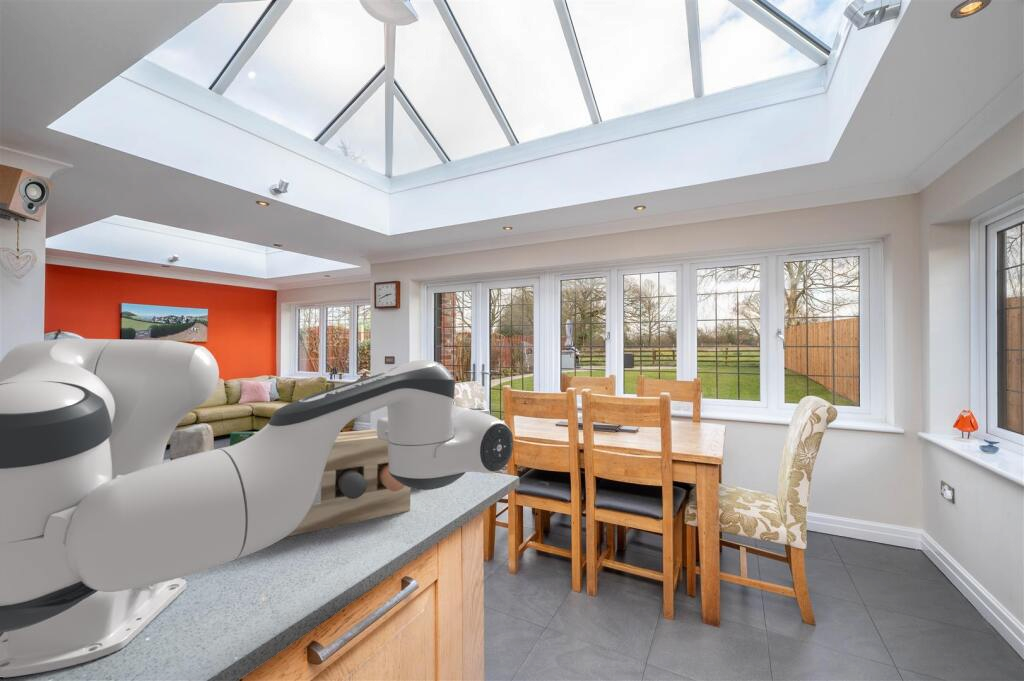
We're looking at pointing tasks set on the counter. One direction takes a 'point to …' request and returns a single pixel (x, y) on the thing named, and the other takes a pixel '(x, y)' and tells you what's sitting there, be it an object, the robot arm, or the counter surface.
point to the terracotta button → (389, 479)
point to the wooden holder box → (367, 459)
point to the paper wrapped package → (191, 441)
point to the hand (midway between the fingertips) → (417, 419)
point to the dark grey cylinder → (351, 483)
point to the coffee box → (239, 437)
